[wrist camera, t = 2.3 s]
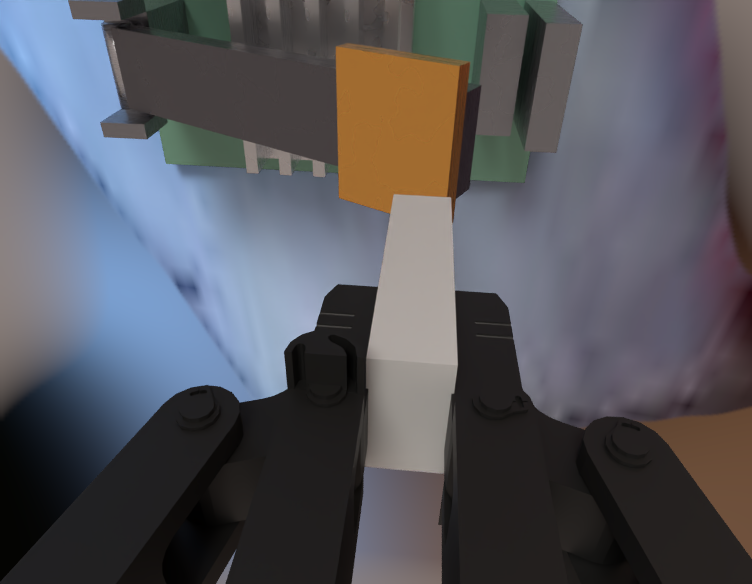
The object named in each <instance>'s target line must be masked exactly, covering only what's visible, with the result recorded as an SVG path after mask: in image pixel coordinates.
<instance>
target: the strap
mask: <svg viewBox="0 0 752 584" xmlns="http://www.w3.org/2000/svg"><path fill="white" fill-rule="evenodd" d="M101 26H102V30H103V34H104V38H105V43H106V47H107V51H108V55H109V59H110V64H111V68H112V72H113V76H114V80H115V85H116V89H117V93H118V97H119V101H120V105H121V108H122V109H124V110H137V111H140V112H144V113H148V114H151V115H155V116H158V117H162V118H165V119H169V120H173V121H176V122H180V123H183V124H187V125H191V126H194V127H198V128H201V129H205V130H209V131H212V132H216V133H219V134H223V135H227V136H230V137H234V138H237V139H241V140H245V141H248V142H252V143H255V144H259V145H263V146H266V147H270V148H273V149H277V150H281V151H284V152H288V153H291V154H295V155H299V156H302V157H306V158H309V159H313V160H317V161H320V162H324V163H327V164H331V165H335V166H338V177H339V198H341V199H344V200H347V201H350V202H354V203H357V204H360V205H363V206H367V207H370V208H373V209H376V210H380V211H383V212H386V213H389V214H390V213H391V207H392V201H393V195H394V194H398V195H416V196H434V197H451V207H452V223H453V219H454V210H455V200H456V198H458V197H459V196H460V195H462V194H463V193H464V192H465V191H467V190H468V189H469V186H470V177H471V169H472V161H473V152H474V144H475V136H476V128H477V119H478V111H479V103H480V95H481V86H482V85H478V84H472V83H468V79H469V70H470V62H469V61H462V60H456V59H450V58H443V57H437V56H430V55H424V54H417V53H411V52H404V51H398V50H391V49H385V48H378V47H372V46H365V45H359V44H352V43H346V44H343V45H339V46H336V60H334V59H328V58H322V57H316V56H310V55H305V54H299V53H293V52H287V51H282V50H276V49H270V48H264V47H259V46H253V45H247V44H241V43H235V42H230V41H224V40H218V39H212V38H207V37H201V36H195V35H189V34H184V33H178V32H172V31H166V30H160V29H155V28H149V27H143V26H137V25H132V24H131V22H129V21H108V22H103V23H101Z"/></svg>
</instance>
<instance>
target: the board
mask: <svg viewBox="0 0 752 584" xmlns="http://www.w3.org/2000/svg"><path fill="white" fill-rule="evenodd" d="M537 1H554V2H555V3H557V0H537ZM517 2H518V3H519V4H520V5H521V6H522V7H523V9H524V3H525V0H517ZM184 3H185V10H186V16H187V22H188V29H189V35H195V36H201V37H207V38H212V39H218V40H224V41H230V42H231V35H230V26H229V18H228V10H227V1H226V0H184ZM479 8H480V0H416V1H415V20H414V39H413V53H417V54H424V55H430V56H437V57H443V58H450V59H456V60H462V61H469V62H470V70H469V79H468V83H471V81H472V72H473V63H474V54H475V45H476V36H477V27H478V17H479ZM167 121H168V123H167V124H166V125H164V126H163V127H162V128H161V129H159V132H160V137H161V142H162V146H163V151H164V156H165V161H166V164H180V165H199V166H218V167H236V168H246V160H245V152H244V143H243V140H241V139H237V138H234V137H230V136H227V135H223V134H219V133H216V132H212V131H209V130H205V129H201V128H198V127H194V126H191V125H187V124H183V123H180V122H176V121H173V120H169V119H167ZM529 155H530V151H524V149H523V146H522V143H521V140H520V137H519V134H518V132H517V129H516V126H515V123H514V120H513V121H512V128H511V134H510V136H491V135H476V136H475V144H474V152H473V161H472V169H471V177H470V180H480V181H499V182H517V183H525V177H526V172H527V166H528V160H529ZM262 169H274V170H280V168H279V159H275V158H269V159H268V160H267V162H266V163H265V165H264V166H263V168H262ZM294 171H311V172H313V160H300V161H299V163H298V165H297V167H296V168H295V170H294ZM327 172H330V173H338V166H335V165H331V164H330V167H329V169H328V171H327Z"/></svg>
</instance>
